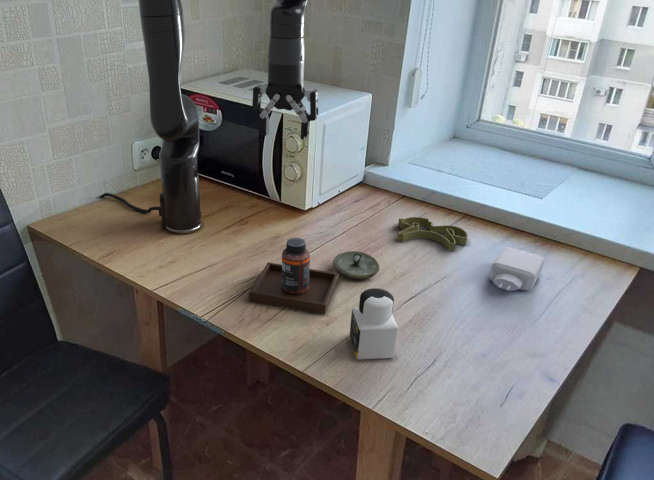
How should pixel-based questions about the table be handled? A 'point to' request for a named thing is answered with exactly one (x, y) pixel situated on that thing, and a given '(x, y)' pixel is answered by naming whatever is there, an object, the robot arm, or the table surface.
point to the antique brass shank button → (356, 265)
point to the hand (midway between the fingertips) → (284, 136)
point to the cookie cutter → (431, 232)
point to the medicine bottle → (374, 325)
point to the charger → (516, 269)
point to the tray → (311, 300)
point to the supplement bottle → (295, 266)
